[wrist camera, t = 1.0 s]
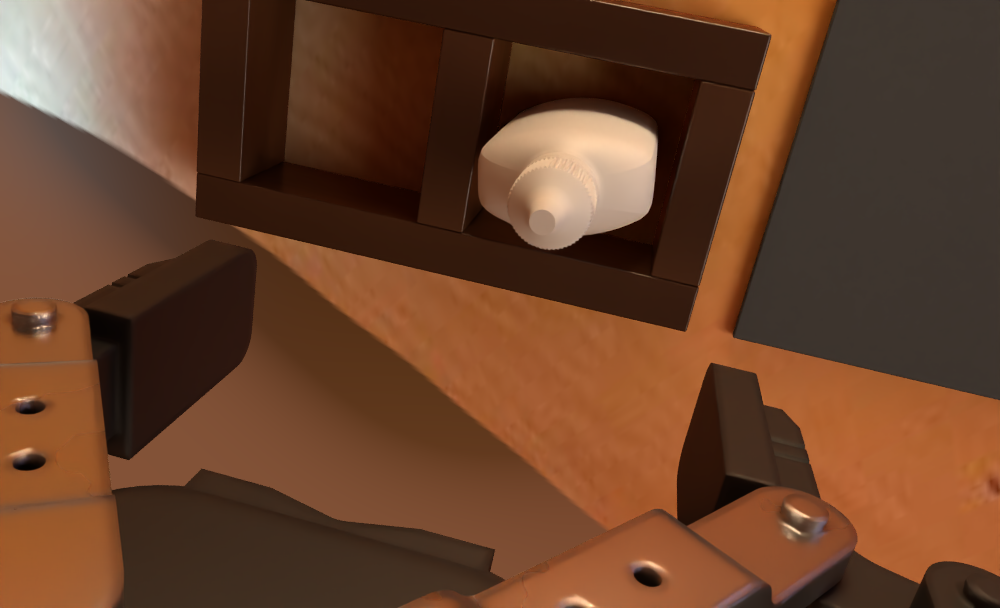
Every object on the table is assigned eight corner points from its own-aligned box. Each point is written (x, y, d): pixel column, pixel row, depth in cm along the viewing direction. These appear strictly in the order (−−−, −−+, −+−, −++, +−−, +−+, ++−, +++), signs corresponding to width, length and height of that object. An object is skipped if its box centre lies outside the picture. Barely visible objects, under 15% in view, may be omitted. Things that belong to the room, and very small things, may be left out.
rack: (257, -70, 32) (204, -77, 29) (760, 27, 30) (772, 34, 27) (242, 192, 36) (194, 216, 33) (684, 294, 34) (686, 332, 31)
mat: (854, -56, 29) (856, -57, 28) (1225, 11, 27) (1232, 11, 27) (732, 334, 35) (733, 338, 34) (1033, 404, 33) (1037, 409, 33)
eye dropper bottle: (616, 223, 34) (590, 341, 23) (497, 151, 34) (412, 234, 23) (678, 130, 32) (681, 209, 21) (552, 53, 32) (490, 92, 21)
